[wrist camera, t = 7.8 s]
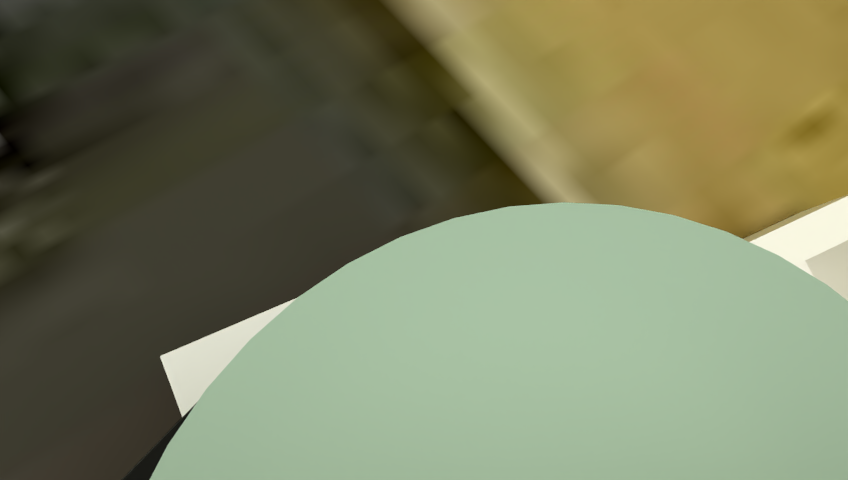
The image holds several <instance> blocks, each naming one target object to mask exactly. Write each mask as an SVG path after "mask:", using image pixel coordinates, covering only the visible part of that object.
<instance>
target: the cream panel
mask: <svg viewBox="0 0 848 480" xmlns="http://www.w3.org/2000/svg"><path fill="white" fill-rule="evenodd" d="M296 299H297V298H296ZM294 300H295V299H293V300H291V301H289V302H286V303H284V304H282V305H279V306H277V307H274V308H272V309H270V310H267V311H265V312H263V313H260V314H258V315H256V316H253V317H251V318H249V319H246V320H244V321H242V322H239V323H237V324H235V325H232V326H230V327H228V328H225V329H223V330H220V331H218V332H216V333H213V334H211V335H209V336H206V337H204V338H202V339H199V340H197V341H195V342H192V343H190V344H188V345H185V346H183V347H181V348H178V349H176V350H174V351H171V352H169V353H166V354H164V355H162V356H160V358H161V360H162V363H163V366H164V368H165V371H166V374H167V377H168V379H169V382H170V385H171V388H172V390H173V393H174V396H175V398H176V401H177V404H178V407H179V409H180V412H181V415H182V417H183V416H184V415H185V414H186V413H187V412H188V411H189V410H190V409H191V408H192V407H193V406H194V405H195V404H196V403H197V402H198V400H199V399H200V397H201V396H202V394H203V393H204V392H205V390H206V389H207V388H208V386H209V385H210V384H211V383H212V382H213V381H214V380H215V378H216V377H217V376H218V375H219V374H220V373H221V372H222V371H223V369H224V368H225V367H226V366H227V365H228V364H229V363H230V362H231V360H232V359H233V358H234V357H235V356H236V355H237V354H238V353H239V351H240V350H241V349H242V348H243V347H244V346H245V345H246V343H247V342H248V341H249V340H250V339H251V338H252V337H253V336H255V335H256V334H257V333H258V332H259V331H260V330H261V329H263V328H264V327H265V326H266V325H267V324H268V323H269V322H270V321H272V320H273V319H274V318H275V317H276V316H277V315H278V314H280V313H281V312H282V311H283V310H284V309H285V308H286V307H288V306H289V305H290V304H291V303H292V302H293V301H294Z"/></svg>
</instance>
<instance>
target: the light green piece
mask: <svg viewBox="0 0 848 480" xmlns="http://www.w3.org/2000/svg"><path fill="white" fill-rule="evenodd" d="M150 480H848V301H847V300H846V299H845V298H843V297H842V296H841V295H840V294H838V293H837V292H836V291H834V290H833V289H832V288H831V287H829V286H828V285H827V284H825V283H823V282H822V281H820V280H818V279H817V278H815V277H813V276H812V275H810V274H808V273H807V272H805V271H803V270H802V269H800V268H798V267H797V266H795V265H794V264H792V263H790V262H789V261H787V260H785V259H784V258H782V257H780V256H779V255H777V254H774V253H772V252H770V251H768V250H766V249H763V248H761V247H759V246H757V245H755V244H752V243H750V242H748V241H746V240H744V239H741V238H739V237H737V236H735V235H733V234H730V233H728V232H726V231H723V230H719V229H716V228H713V227H710V226H707V225H703V224H700V223H697V222H694V221H691V220H687V219H684V218H681V217H678V216H675V215H670V214H665V213H659V212H654V211H648V210H642V209H637V208H631V207H626V206H620V205H604V204H585V203H565V202H563V203H550V204H538V205H525V206H512V207H505V208H500V209H496V210H491V211H486V212H482V213H477V214H472V215H467V216H463V217H458V218H453V219H451V220H448V221H445V222H442V223H439V224H436V225H434V226H431V227H428V228H425V229H422V230H419V231H416V232H414V233H411V234H408V235H405V236H402V237H400V238H398V239H396V240H394V241H392V242H390V243H388V244H386V245H384V246H382V247H380V248H378V249H376V250H374V251H372V252H370V253H368V254H366V255H364V256H362V257H360V258H358V259H356V260H354V261H352V262H350V263H348V264H347V265H345V266H344V267H342V268H341V269H339V270H338V271H336V272H335V273H333V274H332V275H330V276H329V277H327V278H326V279H324V280H323V281H321V282H320V283H318V284H317V285H316V286H314V287H313V288H311V289H310V290H308V291H307V292H305V293H304V294H302V295H301V296H299V297H298V298H297V299H295V300H294V301H293V302H292V303H291V304H290V305H289V306H288V307H286V308H285V309H284V310H283V311H282V312H281V313H280V314H278V315H277V316H276V317H275V318H274V319H273V320H272V321H270V322H269V323H268V324H267V325H266V326H265V327H264V328H263V329H261V330H260V331H259V332H258V333H257V334H256V335H255V336H253V337H252V338H251V339H250V340H249V341H248V342H247V343H246V345H245V346H244V347H243V348H242V349H241V350H240V351H239V353H238V354H237V355H236V356H235V357H234V358H233V359H232V360H231V362H230V363H229V364H228V365H227V366H226V367H225V368H224V369H223V371H222V372H221V373H220V374H219V375H218V376H217V377H216V378H215V380H214V381H213V382H212V383H211V384H210V385H209V386H208V388H207V389H206V390H205V392H204V393H203V394H202V396H201V397H200V399H199V400H198V402H197V403H196V405H195V406H194V408H193V409H192V410H191V412H190V413H189V415H188V416H187V418H186V419H185V421H184V422H183V424H182V425H181V426H180V428H179V429H178V431H177V432H176V434H175V435H174V437H173V438H172V439H171V441H170V442H169V444H168V445H167V447H166V449H165V451H164V453H163V455H162V457H161V459H160V461H159V463H158V464H157V466H156V468H155V470H154V472H153V474H152V476H151V478H150Z"/></svg>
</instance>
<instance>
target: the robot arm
mask: <svg viewBox="0 0 848 480" xmlns="http://www.w3.org/2000/svg"><path fill="white" fill-rule="evenodd" d="M195 405H196V404H195ZM195 405H194V406H195ZM194 406H193V407H192V408H191V409H190V410H189V411H188V412H187V413H186V414H185V415H184V416H183V417H182V418H181V419H180V420H179V421H178V422H177V423H176V424H175V425H174V426H173V427H172V428H171V429H170V430H169V431H168V432H167V433H166V434H165V436H164V437H163V438H162V439H161V440H160V441H159V442H158V443H157V444H156V445H155V446H154V447H153V448H152V449H151V450H150V451H149V452H148V453H147V454H146V455H145V456H144V457H143V458H142V459H141V460H140V461H139V462H138V463H137V464H136V465H135V466H134V467H133V468H132V469H131V470H130V471H129V472H128V473H127V474H126V476H125V477H124V478H123V479H122V480H150V478H151V476H152V474H153V472H154V470H155V468H156V466H157V464H158V463H159V461H160V459H161V457H162V455H163V453H164V451H165V449H166V447H167V445H168V444H169V442H170V441H171V439H172V438H173V437H174V435H175V434H176V432H177V431H178V429H179V428H180V426H181V425H182V424H183V422H184V421H185V419H186V418H187V416H188V415H189V413H190V412H191V410H192V409H193V408H194Z"/></svg>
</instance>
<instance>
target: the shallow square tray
mask: <svg viewBox="0 0 848 480" xmlns="http://www.w3.org/2000/svg"><path fill="white" fill-rule="evenodd" d="M744 240H746V241H748V242H750V243H752V244H755V245H757V246H759V247H761V248H763V249H766V250H768V251H770V252H772V253H774V254H777V255H779V256H780V257H782V258H784V259H785V260H787V261H789V262H790V263H792V264H794V265H795V266H797V267H798V268H800V269H802V270H803V271H805V272H807V273H808V274H810V275H812V276H813V277H815V278H817V279H818V280H820V281H822V282H823V283H825V284H827V285H828V286H829V287H831V288H832V289H833V290H834V291H836V292H837V293H838V294H840V295H841V296H842V297H843V298H845V299H846V300H847V301H848V195H846V196H843V197H840V198H838V199H835V200H832V201H829V202H827V203H824V204H821V205H819V206H816V207H813V208H810V209H808V210H805V211H802V212H800V213H798V214H796V215H793V216H791V217H789V218H787V219H785V220H783V221H780V222H778V223H776V224H774V225H772V226H770V227H768V228H765V229H763V230H761V231H759V232H757V233H755V234H753V235H750V236H748V237H746V238H744Z"/></svg>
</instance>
